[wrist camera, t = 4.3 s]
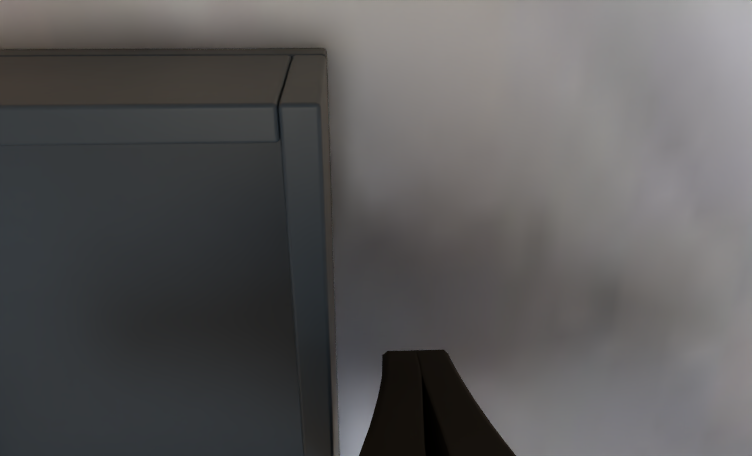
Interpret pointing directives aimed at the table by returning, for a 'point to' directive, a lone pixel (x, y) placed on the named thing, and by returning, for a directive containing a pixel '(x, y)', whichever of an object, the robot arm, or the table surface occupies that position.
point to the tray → (166, 253)
